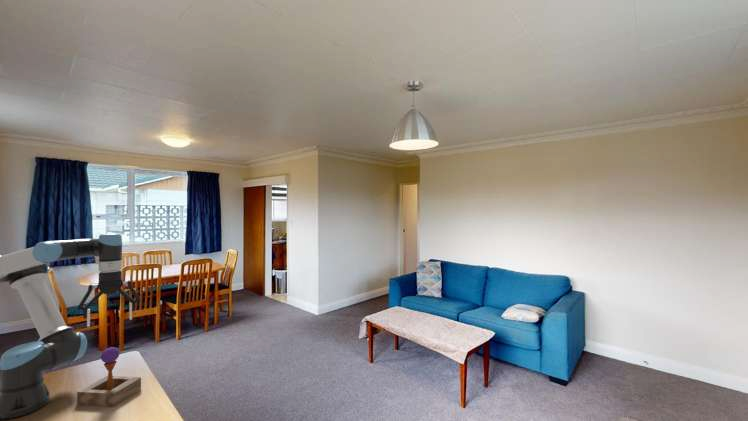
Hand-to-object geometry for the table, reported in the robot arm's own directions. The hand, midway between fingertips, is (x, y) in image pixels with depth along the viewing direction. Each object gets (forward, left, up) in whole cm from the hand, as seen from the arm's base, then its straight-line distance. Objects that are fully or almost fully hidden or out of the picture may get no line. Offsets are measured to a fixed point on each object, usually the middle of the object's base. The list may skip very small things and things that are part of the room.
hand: (110, 322), depth 135 cm
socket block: (0, 0, -30) cm, 30 cm away
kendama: (0, 0, -31) cm, 31 cm away
